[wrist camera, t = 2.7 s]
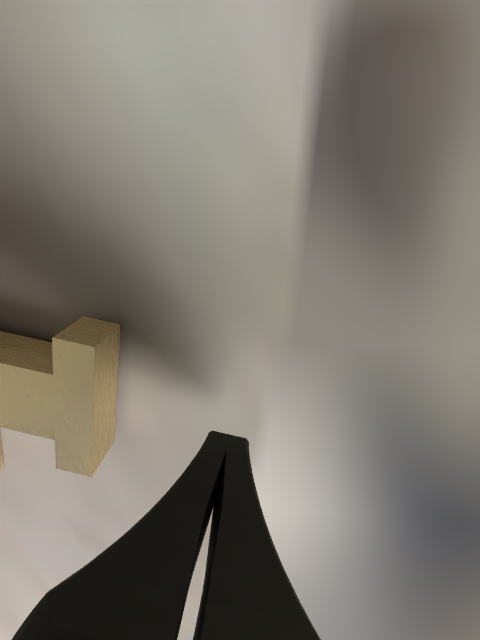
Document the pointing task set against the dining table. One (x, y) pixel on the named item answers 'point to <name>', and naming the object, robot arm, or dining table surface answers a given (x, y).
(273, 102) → the dining table surface
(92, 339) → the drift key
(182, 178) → the dining table surface
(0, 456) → the socket block
